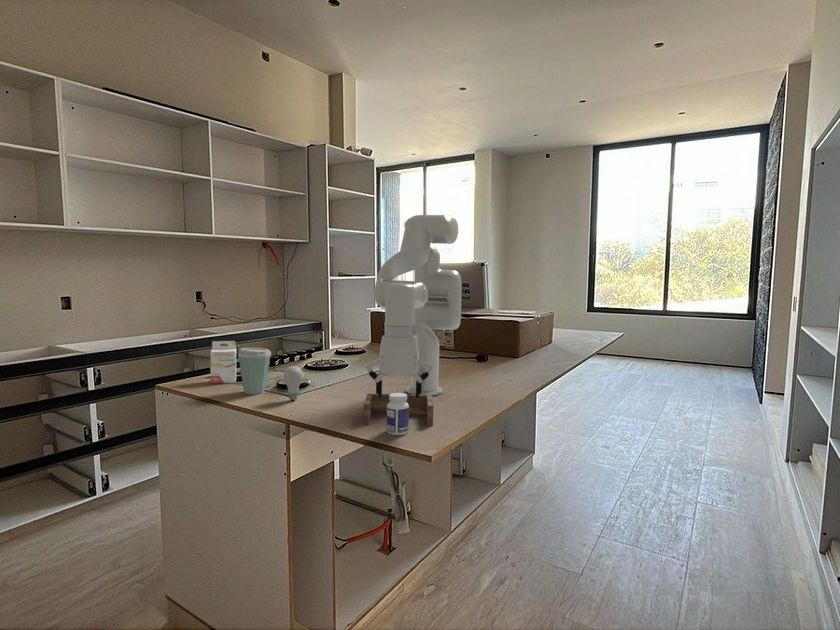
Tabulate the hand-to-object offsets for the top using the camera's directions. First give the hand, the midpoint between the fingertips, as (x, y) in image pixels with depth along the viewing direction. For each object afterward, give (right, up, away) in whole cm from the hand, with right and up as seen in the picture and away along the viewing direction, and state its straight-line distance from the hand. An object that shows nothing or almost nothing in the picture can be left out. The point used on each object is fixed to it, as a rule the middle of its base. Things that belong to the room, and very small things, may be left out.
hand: (398, 396), depth 124 cm
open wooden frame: (0, -8, +11) cm, 14 cm away
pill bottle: (0, -10, 0) cm, 10 cm away
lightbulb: (-35, -6, +27) cm, 45 cm away
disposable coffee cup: (-50, -5, +36) cm, 62 cm away
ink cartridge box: (-66, -3, +50) cm, 83 cm away
